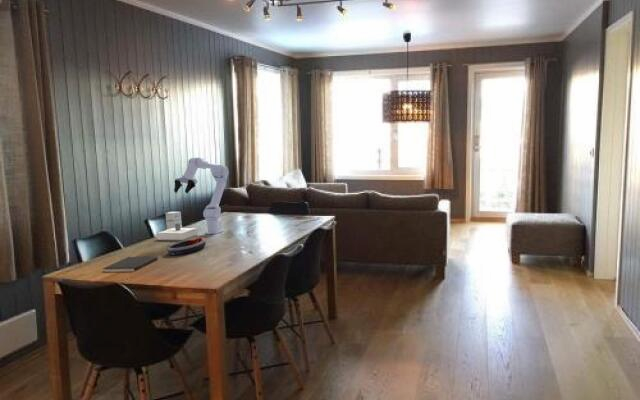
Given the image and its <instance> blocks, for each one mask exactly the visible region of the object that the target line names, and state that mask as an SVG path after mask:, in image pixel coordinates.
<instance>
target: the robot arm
mask: <svg viewBox="0 0 640 400" xmlns="http://www.w3.org/2000/svg"><path fill="white" fill-rule="evenodd" d="M187 163H188V164H187V168H186V169H185V172H184V174H183V175H181V177H178V178H175V179H174V188H173V192H174V193H175V194H177V193H178V191H179V190H180V188H182V187H183V184H187V185H186V187H185V190H184V192H185V193H186V194H188V193H189V192H190V191H191V190H192V189H194V188H195V187H196V184H197V183H198V180H197V178H195V175H196V173H197V171H198V169H202V170H206V169H210V172H211V175H212V177H213V179H214V181H215V182H216V186H215V188H214V191H213V194H212V197H211V200H210V203H209V204H208V205H206V206H205V208H204V210H203V212H202V215H203V217H204V219H205V220H206V228H207V230H206V231H207V232H205V233H204V234H205V235H217V234H219V233H222V232H224V230H223V228H222V220H221V219H220V217H221V215H222V214H221V210H222V208H221V206H219V205H220V202H221V200H222V199H221V198H222V196H223V193H224V190H225V186H226V183H227V180H228V178H229V174H230V172H229V168H228V166H224V165H223V164H217V163H213V162H209V161H208V160H207V159H206V158H202V157H191V158H189V159H188V161H187ZM182 183H183V184H182Z"/></svg>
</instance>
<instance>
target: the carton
mask: <svg viewBox="0 0 640 400" xmlns="http://www.w3.org/2000/svg"><path fill="white" fill-rule="evenodd" d="M196 237H198V230H197V229H195V230H192V231H165V230H162V231H159V232H156V240H157V239H158V240H157V241H174V242H175V241H176V242H180V241H184V240H189V239H193V238H196Z"/></svg>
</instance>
